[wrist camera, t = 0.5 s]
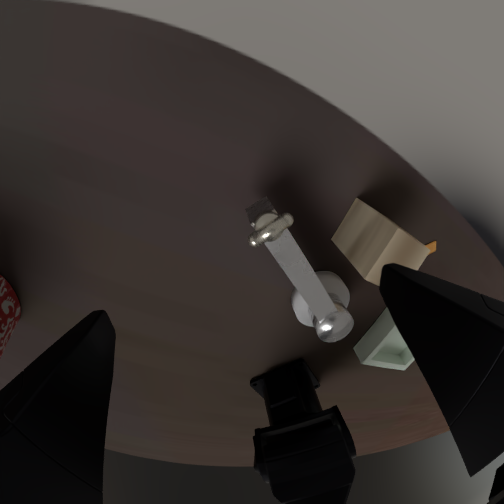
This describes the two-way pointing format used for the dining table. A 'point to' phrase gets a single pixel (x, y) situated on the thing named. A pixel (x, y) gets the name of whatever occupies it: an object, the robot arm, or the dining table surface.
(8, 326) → the mug
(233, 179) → the dining table surface
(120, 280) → the dining table surface
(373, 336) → the stop tray
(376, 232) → the stop block
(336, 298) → the crank
